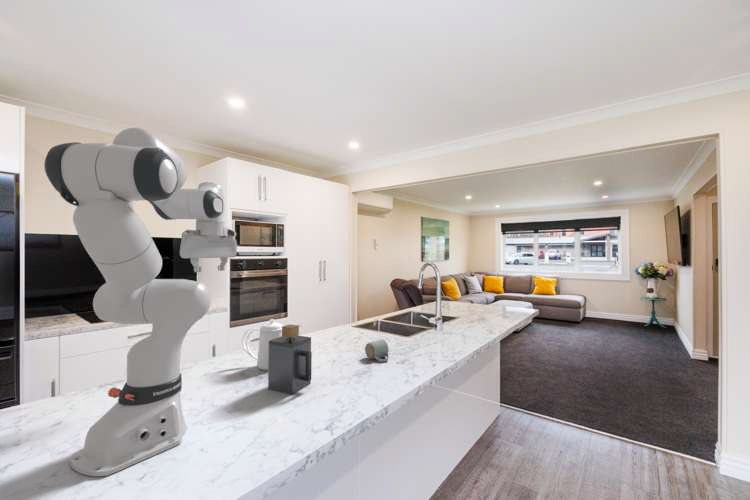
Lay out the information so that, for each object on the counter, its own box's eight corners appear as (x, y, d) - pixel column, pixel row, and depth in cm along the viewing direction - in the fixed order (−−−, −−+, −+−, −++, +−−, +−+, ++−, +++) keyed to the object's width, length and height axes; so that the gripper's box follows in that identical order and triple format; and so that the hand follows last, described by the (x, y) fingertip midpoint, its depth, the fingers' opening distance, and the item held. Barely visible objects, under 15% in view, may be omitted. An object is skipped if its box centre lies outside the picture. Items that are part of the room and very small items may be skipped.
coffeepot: (298, 372, 127) (298, 323, 127) (235, 369, 130) (236, 321, 130) (307, 363, 138) (307, 317, 138) (249, 360, 140) (249, 316, 141)
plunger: (291, 387, 110) (292, 329, 110) (275, 383, 112) (275, 327, 113) (304, 380, 116) (304, 325, 116) (288, 377, 119) (288, 323, 119)
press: (300, 396, 106) (301, 345, 106) (268, 389, 112) (268, 340, 112) (318, 385, 115) (318, 338, 115) (287, 379, 121) (288, 334, 121)
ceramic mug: (363, 357, 146) (364, 339, 146) (378, 354, 151) (379, 337, 151) (377, 364, 138) (378, 346, 138) (393, 360, 142) (393, 343, 142)
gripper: (188, 229, 104) (188, 273, 104) (239, 232, 123) (239, 270, 123) (175, 229, 107) (174, 272, 107) (227, 232, 126) (227, 269, 126)
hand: (209, 271), depth 115 cm, fingers open, 8 cm apart
